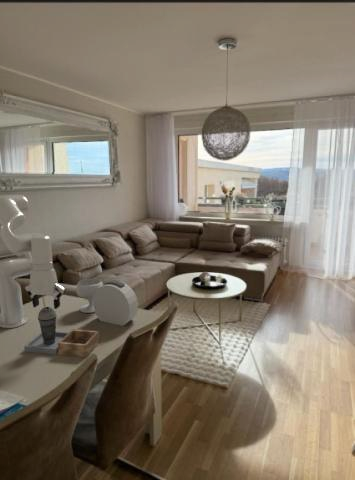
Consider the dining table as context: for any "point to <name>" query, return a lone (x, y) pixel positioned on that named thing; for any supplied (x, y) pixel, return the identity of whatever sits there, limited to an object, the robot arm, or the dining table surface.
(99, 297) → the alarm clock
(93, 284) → the chalice
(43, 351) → the tray
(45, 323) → the beverage cup
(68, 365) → the dining table surface
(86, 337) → the holder
